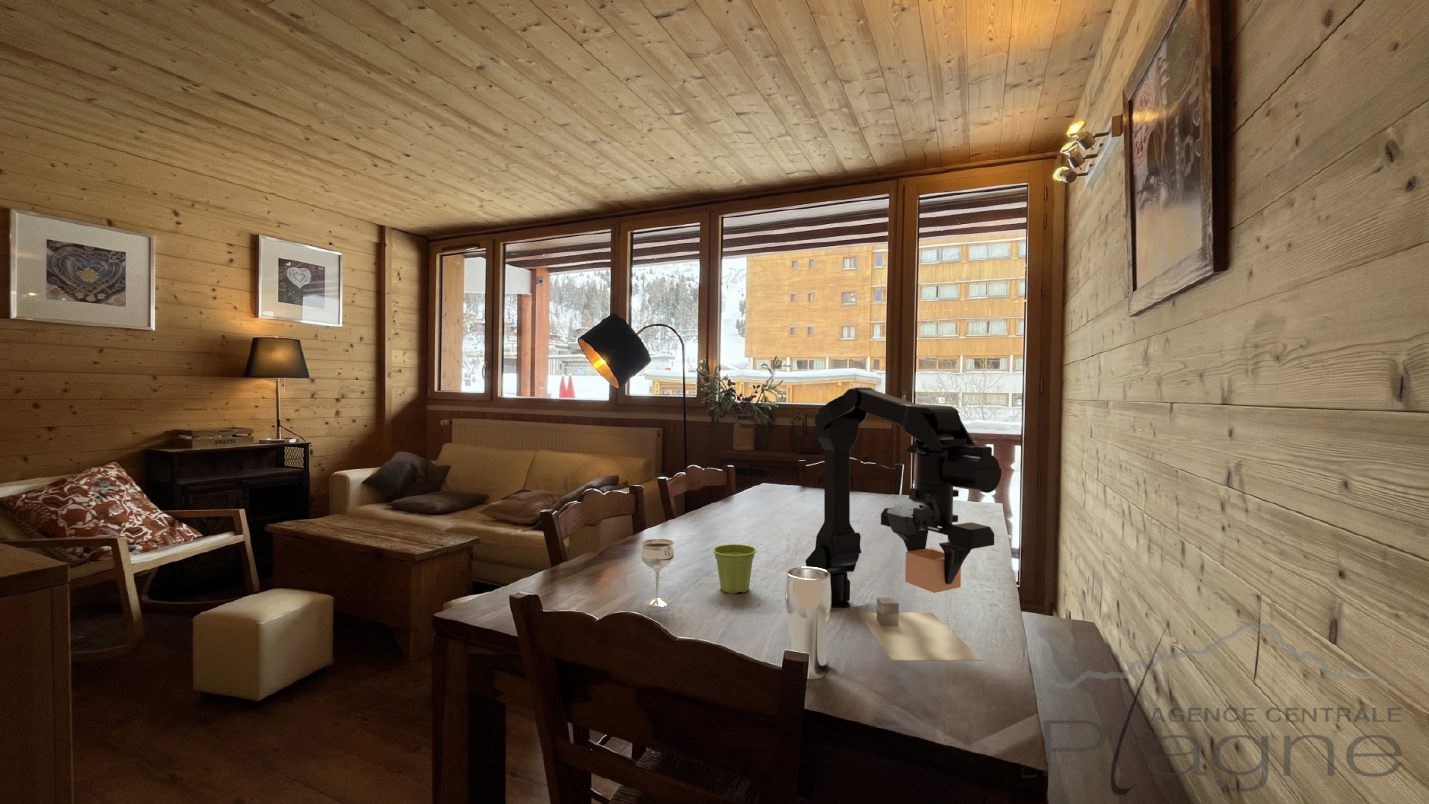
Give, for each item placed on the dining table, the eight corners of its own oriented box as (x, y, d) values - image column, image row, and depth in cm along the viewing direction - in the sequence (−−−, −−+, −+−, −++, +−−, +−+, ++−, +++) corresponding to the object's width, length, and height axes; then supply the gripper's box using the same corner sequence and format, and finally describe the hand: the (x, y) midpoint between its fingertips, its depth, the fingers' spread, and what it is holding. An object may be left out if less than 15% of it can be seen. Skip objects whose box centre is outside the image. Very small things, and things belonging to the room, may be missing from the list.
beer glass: (780, 661, 96) (781, 566, 95) (823, 659, 96) (824, 565, 96) (789, 682, 89) (790, 580, 88) (836, 680, 89) (837, 579, 89)
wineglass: (633, 602, 122) (633, 543, 121) (658, 594, 127) (658, 537, 126) (655, 610, 117) (656, 549, 117) (681, 602, 122) (681, 542, 122)
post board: (891, 670, 93) (892, 634, 93) (857, 620, 113) (858, 591, 113) (982, 669, 93) (982, 634, 93) (932, 620, 113) (932, 591, 113)
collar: (934, 592, 95) (934, 561, 95) (905, 581, 100) (905, 551, 100) (960, 587, 98) (961, 556, 97) (931, 576, 103) (931, 547, 103)
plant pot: (705, 593, 128) (705, 552, 127) (722, 580, 136) (722, 542, 136) (747, 599, 124) (747, 556, 124) (762, 585, 133) (762, 546, 132)
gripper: (857, 478, 103) (855, 569, 103) (946, 496, 86) (944, 604, 87) (905, 474, 108) (903, 561, 108) (997, 490, 92) (995, 592, 92)
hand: (932, 578), depth 99 cm, fingers closed on collar, 6 cm apart
